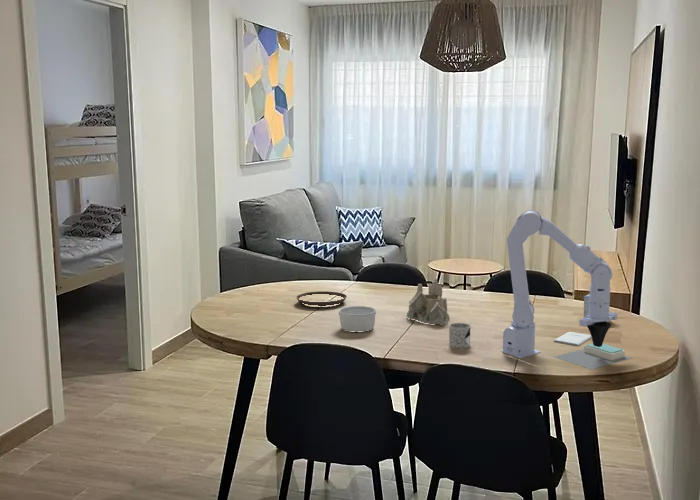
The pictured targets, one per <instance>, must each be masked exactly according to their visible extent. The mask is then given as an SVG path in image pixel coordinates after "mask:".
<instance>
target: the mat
mask: <svg viewBox="0 0 700 500" xmlns="http://www.w3.org/2000/svg"><path fill="white" fill-rule="evenodd" d="M553 357H554V358H557V359H558V360H562V361H565V362H569V363H571V364H574V365H577V366H580V367H583V368H586V369H589V370H591V371H592V370H596V369H599V368H602V367H607V366H610V365H613V364H617V363H620V362H624V361H628V360H631V359H633V357H631V356H628V355H625V357H622V358H619V359H615V360H608V359H605V358H602V357H599V356H595V355H592V354H589V353H586V352H584V348H583V349H579V350H575V351H570V352H567V353H563V354H559V355H555V356H553Z"/></svg>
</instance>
